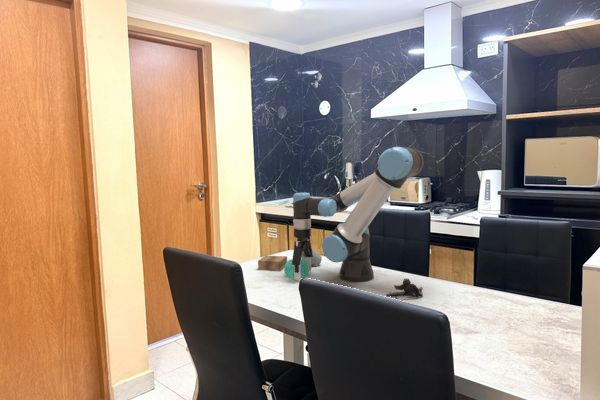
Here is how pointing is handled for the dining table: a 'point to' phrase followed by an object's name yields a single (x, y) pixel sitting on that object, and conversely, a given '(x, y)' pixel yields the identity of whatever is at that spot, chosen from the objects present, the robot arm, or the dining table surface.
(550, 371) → the dining table surface
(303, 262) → the decorative dice
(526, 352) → the dining table surface
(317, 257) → the ceramic mug
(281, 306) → the dining table surface
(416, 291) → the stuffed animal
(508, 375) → the dining table surface
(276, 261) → the base block
